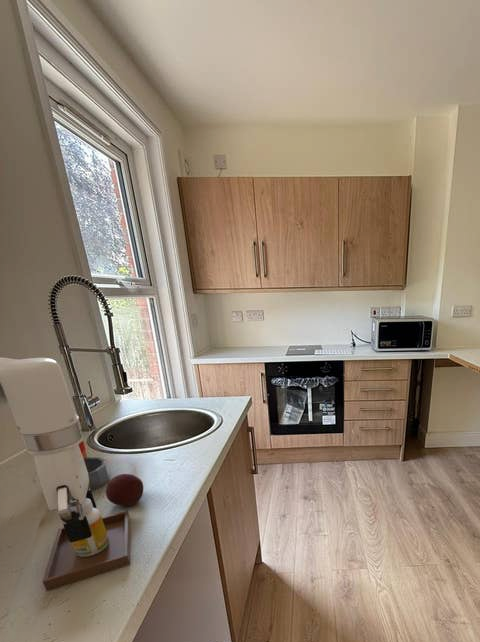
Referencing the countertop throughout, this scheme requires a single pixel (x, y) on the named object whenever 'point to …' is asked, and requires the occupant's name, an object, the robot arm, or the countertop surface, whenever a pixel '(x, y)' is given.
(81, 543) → the supplement bottle
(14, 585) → the countertop surface
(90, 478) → the grey round bowl
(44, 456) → the robot arm
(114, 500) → the dark red plum
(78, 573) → the tray
